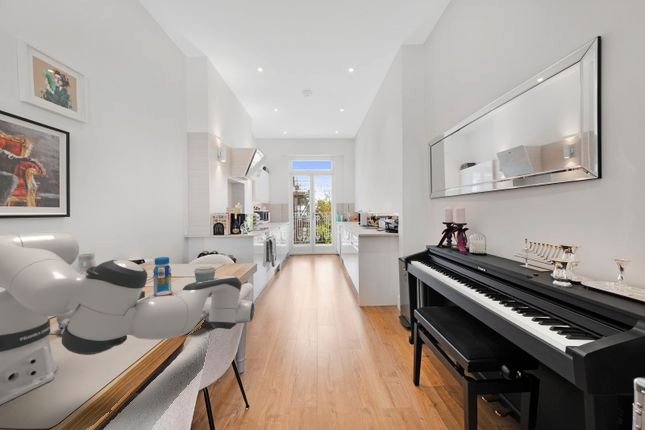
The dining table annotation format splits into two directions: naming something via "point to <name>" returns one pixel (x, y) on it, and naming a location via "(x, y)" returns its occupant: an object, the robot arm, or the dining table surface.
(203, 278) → the disposable coffee cup
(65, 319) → the chubby cartoon animal
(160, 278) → the beverage bottle
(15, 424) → the dining table surface
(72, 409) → the dining table surface
